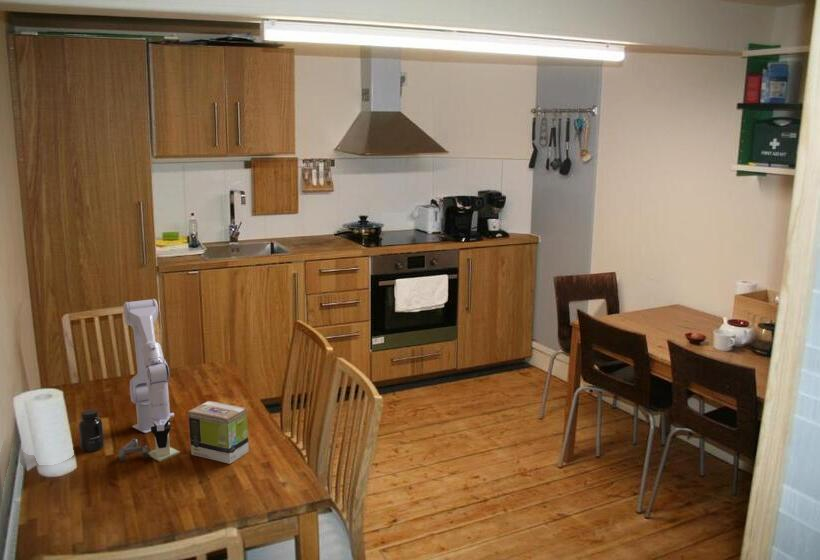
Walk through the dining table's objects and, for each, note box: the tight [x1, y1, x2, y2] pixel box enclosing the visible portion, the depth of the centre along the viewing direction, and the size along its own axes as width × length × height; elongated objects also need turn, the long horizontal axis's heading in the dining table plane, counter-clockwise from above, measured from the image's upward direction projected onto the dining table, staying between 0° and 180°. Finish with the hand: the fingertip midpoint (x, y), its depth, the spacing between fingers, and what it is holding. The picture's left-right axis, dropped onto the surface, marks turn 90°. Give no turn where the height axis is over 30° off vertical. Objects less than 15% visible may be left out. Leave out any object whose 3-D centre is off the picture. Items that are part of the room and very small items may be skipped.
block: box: [154, 433, 171, 456], centre depth 229 cm, size 4×4×6 cm
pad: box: [148, 446, 181, 462], centre depth 229 cm, size 7×7×1 cm
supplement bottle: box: [78, 408, 105, 453], centre depth 232 cm, size 7×7×12 cm
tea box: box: [188, 400, 250, 465], centre depth 229 cm, size 15×10×15 cm
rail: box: [118, 438, 150, 462], centre depth 227 cm, size 8×8×4 cm
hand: (162, 443), depth 229 cm, fingers open, 5 cm apart
